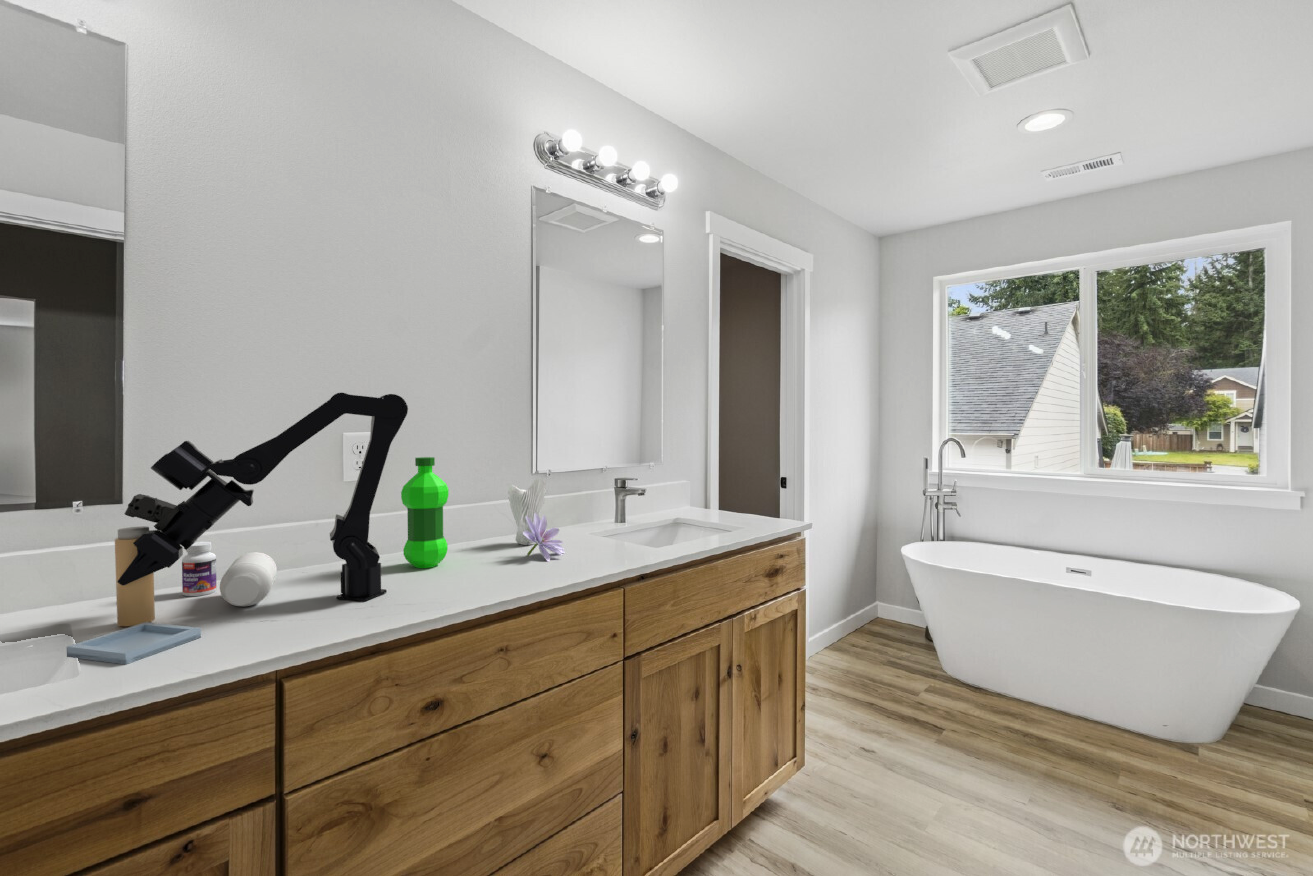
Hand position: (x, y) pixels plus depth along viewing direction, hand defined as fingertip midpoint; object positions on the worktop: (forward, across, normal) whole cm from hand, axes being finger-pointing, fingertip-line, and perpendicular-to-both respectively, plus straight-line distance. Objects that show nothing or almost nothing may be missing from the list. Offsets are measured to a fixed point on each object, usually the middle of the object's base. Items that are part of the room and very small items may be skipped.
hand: (124, 580), depth 103 cm
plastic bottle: (-30, -20, +41) cm, 55 cm away
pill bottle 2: (-9, -14, +15) cm, 22 cm away
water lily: (-49, -16, +60) cm, 79 cm away
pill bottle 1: (0, -17, +11) cm, 20 cm away
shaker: (+4, 0, +6) cm, 7 cm away
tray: (+2, +13, +8) cm, 16 cm away
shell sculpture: (-49, -33, +61) cm, 85 cm away
